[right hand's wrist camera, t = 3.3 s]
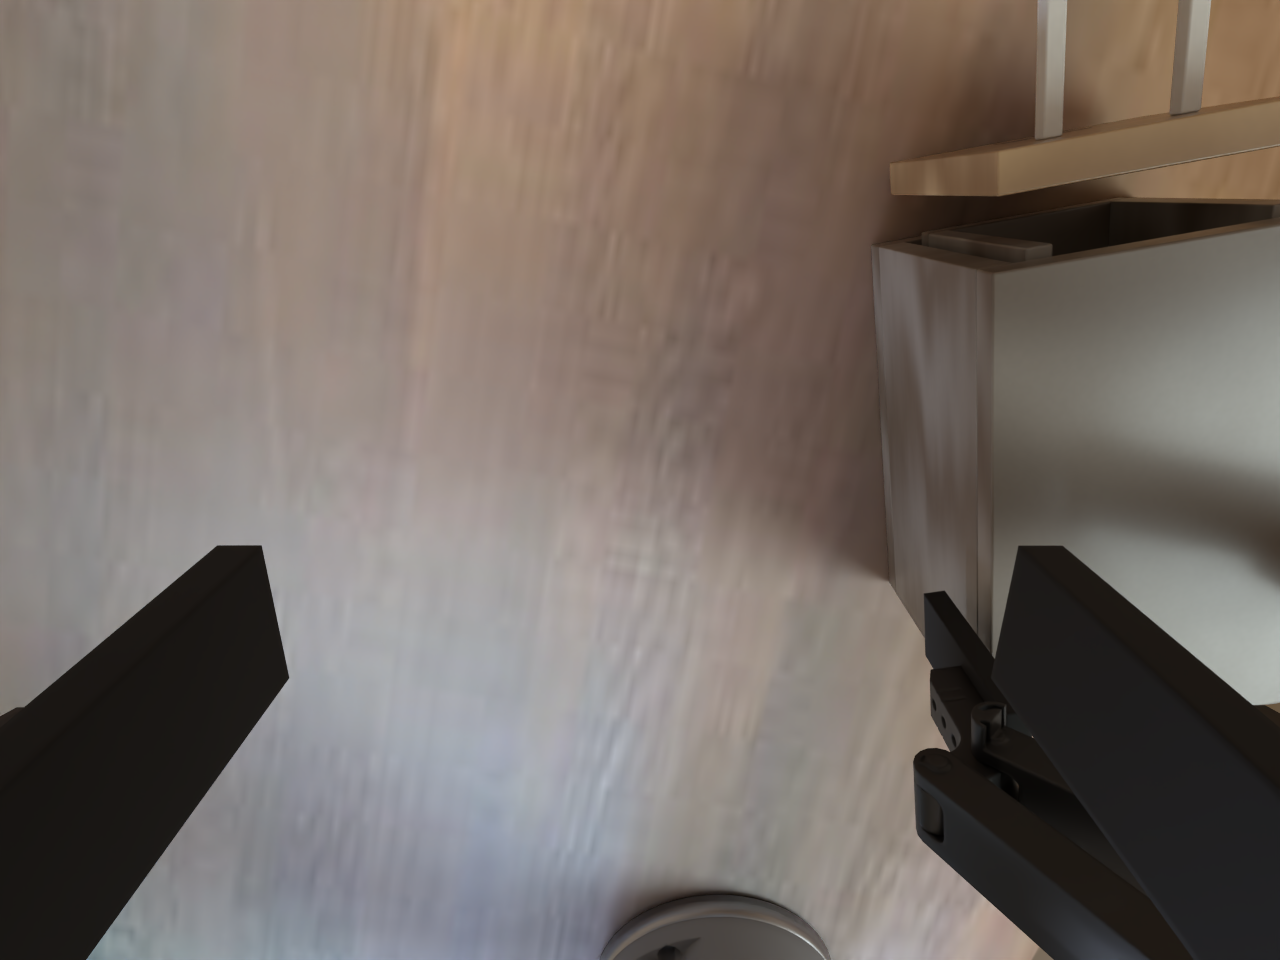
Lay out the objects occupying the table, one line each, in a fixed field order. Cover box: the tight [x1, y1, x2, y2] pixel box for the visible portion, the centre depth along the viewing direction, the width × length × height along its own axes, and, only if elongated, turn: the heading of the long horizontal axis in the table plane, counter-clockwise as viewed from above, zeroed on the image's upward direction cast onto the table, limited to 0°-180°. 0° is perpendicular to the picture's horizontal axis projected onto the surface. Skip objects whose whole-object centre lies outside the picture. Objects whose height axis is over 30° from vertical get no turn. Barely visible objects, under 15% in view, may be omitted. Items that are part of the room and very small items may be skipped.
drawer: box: [890, 0, 1280, 263], centre depth 26 cm, size 21×10×10 cm, turn 10°
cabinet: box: [871, 217, 1280, 705], centre depth 29 cm, size 17×11×12 cm, turn 10°
